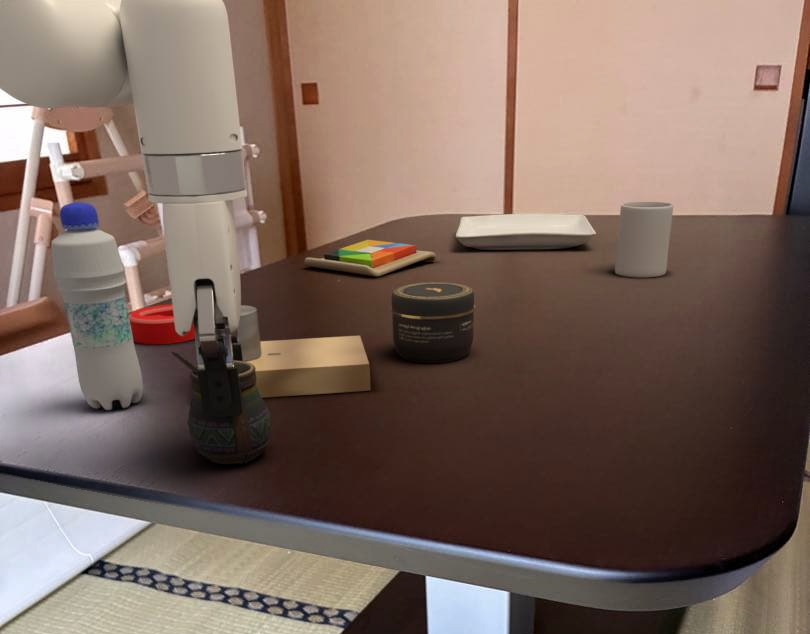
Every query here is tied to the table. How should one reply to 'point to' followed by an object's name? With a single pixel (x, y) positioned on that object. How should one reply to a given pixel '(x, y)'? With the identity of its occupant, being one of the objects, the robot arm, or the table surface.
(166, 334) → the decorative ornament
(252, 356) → the cylinder
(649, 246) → the mug
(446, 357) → the jar
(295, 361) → the wooden peg base
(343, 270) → the wooden puzzle
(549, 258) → the table surface
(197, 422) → the mate gourd
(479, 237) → the square plate
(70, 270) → the bottle
